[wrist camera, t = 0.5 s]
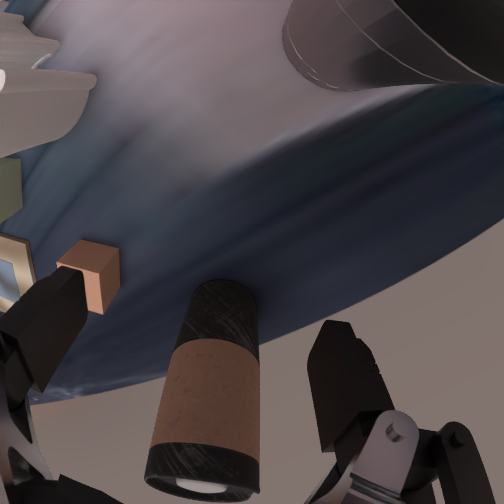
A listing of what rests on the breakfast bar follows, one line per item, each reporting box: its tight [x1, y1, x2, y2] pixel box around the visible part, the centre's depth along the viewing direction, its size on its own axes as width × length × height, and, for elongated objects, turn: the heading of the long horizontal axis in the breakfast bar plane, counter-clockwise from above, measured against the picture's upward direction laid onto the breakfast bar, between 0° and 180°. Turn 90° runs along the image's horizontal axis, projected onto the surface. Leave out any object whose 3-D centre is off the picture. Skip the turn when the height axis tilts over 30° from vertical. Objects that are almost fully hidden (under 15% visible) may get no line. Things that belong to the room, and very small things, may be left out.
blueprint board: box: [0, 233, 36, 313], centre depth 29 cm, size 15×15×1 cm
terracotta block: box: [57, 239, 120, 314], centre depth 26 cm, size 5×5×5 cm
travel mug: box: [144, 280, 260, 503], centre depth 22 cm, size 8×8×20 cm
